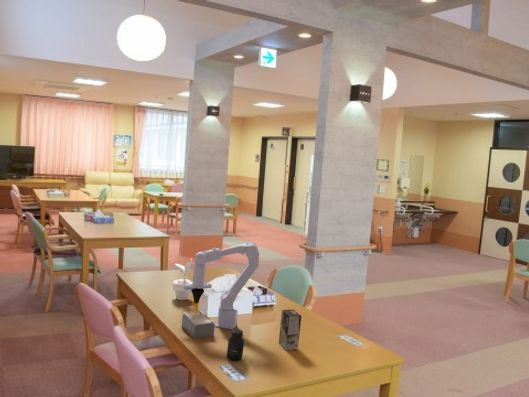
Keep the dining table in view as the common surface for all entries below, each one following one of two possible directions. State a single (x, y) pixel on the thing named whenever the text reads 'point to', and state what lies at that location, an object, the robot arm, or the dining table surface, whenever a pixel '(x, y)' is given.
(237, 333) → the supplement bottle
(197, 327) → the housing
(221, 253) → the robot arm
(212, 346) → the dining table surface
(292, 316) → the coffee box
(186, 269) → the potted plant
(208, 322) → the lid
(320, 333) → the dining table surface
